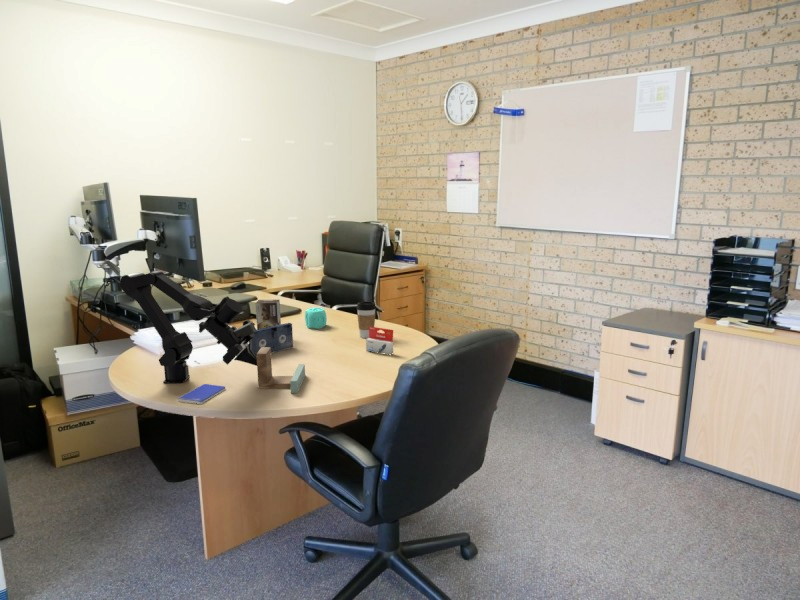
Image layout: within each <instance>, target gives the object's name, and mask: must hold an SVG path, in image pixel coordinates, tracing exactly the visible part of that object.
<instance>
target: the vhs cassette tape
mask: <svg viewBox="0 0 800 600" xmlns="http://www.w3.org/2000/svg"><path fill="white" fill-rule="evenodd" d="M253 334H254V335H255V336H254V337H253V338H252V339H251V340H250V341H249V342H248V344H249V343H250V342H251V341H252V347H251V348H252V350H253V352H254V354H255V355H256V357H257V353H258V351H259V350H260V349H261V347H271V354H273V353H276V352H277V353H278V352H280V351H284V350H288V349H292V348H294V340H293V339H294V338H293V337H294V336H293V323H291V322H287V323H281V325H276V326H271V327H266V328H261V329H257V328H256V331H254V333H253Z"/></svg>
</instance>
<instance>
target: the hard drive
mask: <svg viewBox="0 0 800 600" xmlns="http://www.w3.org/2000/svg"><path fill="white" fill-rule="evenodd" d="M225 390H226V386H223V385H217V384H207V383H203V384H202V385H200V386H197V387H196V388H194V389H193V390H191V391H189V392H186V393H185V394H183V395H182V396H179V397H177V401H178V402H182V403H187V404H189V403H190V404H196V403H197V404H198V405H203V404H204V403H205V401H206V402H207V401H209V400H211V399H212V398H214V397H215V395H216V396H217V395H219V394H220V393H222V392H224V391H225ZM218 393H219V394H218ZM210 398H211V399H210ZM208 399H209V400H208ZM203 402H204V403H203ZM197 404H196V405H197Z"/></svg>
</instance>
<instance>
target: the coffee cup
mask: <svg viewBox="0 0 800 600" xmlns="http://www.w3.org/2000/svg"><path fill="white" fill-rule="evenodd" d="M376 309H377V306H376V302H373V301H360V302H357V305H356V310H357V322H358V331H359V338H361V337H362V339H368V338H369V326H370V327H375V323H376V321H375V320H376Z"/></svg>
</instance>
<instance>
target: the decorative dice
mask: <svg viewBox="0 0 800 600" xmlns="http://www.w3.org/2000/svg"><path fill="white" fill-rule="evenodd" d="M304 320H305V325H306V328H309V329H314V330H315V329H322V328H325V326H326V325H327V313H326V310H325V309H324V308H322V307H310V308H307V309H306V310H305V312H304Z"/></svg>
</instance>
